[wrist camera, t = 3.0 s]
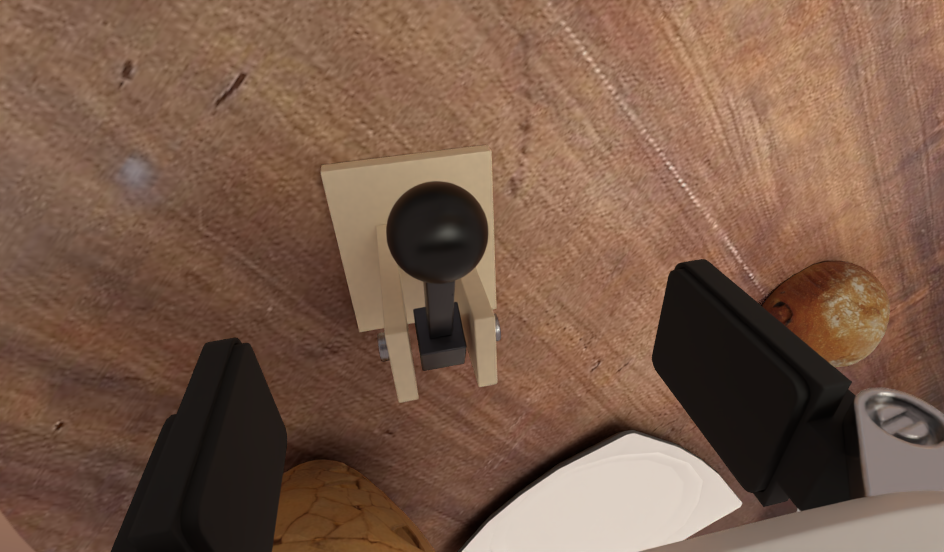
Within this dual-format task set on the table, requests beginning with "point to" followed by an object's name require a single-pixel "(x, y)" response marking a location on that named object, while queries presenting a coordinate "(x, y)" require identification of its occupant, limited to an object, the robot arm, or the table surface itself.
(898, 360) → the table surface
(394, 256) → the black ball knob lever
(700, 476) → the plate
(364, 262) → the lever bracket
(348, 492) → the bowl
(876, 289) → the bread roll
